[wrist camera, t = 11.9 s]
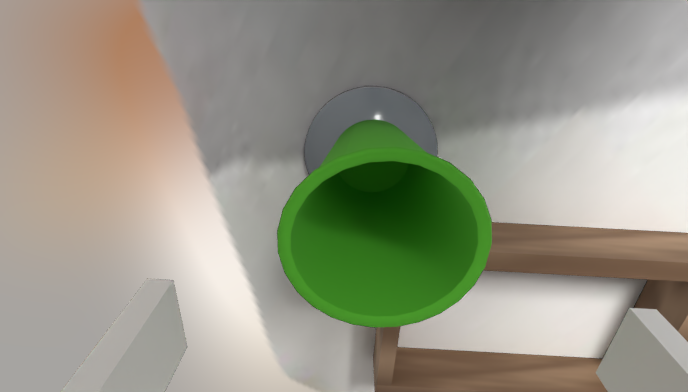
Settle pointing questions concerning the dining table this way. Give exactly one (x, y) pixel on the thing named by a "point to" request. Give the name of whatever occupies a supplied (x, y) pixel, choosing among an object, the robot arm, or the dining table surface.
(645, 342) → the robot arm
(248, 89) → the dining table surface
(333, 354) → the dining table surface
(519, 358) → the pocket frame
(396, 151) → the cup
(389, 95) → the coaster
